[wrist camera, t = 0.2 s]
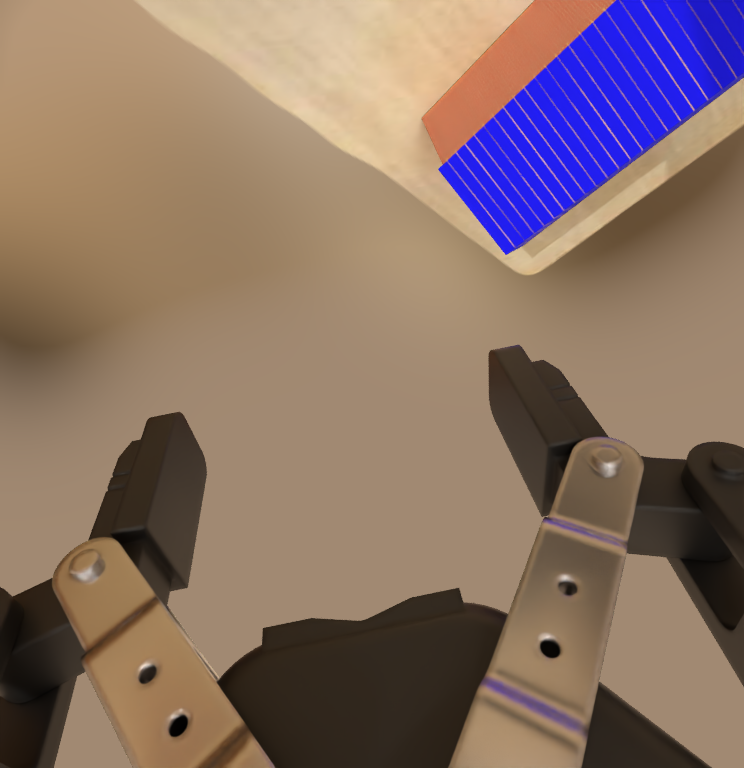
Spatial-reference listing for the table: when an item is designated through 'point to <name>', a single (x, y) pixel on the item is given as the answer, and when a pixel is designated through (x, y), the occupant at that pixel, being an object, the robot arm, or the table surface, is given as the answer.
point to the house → (578, 102)
